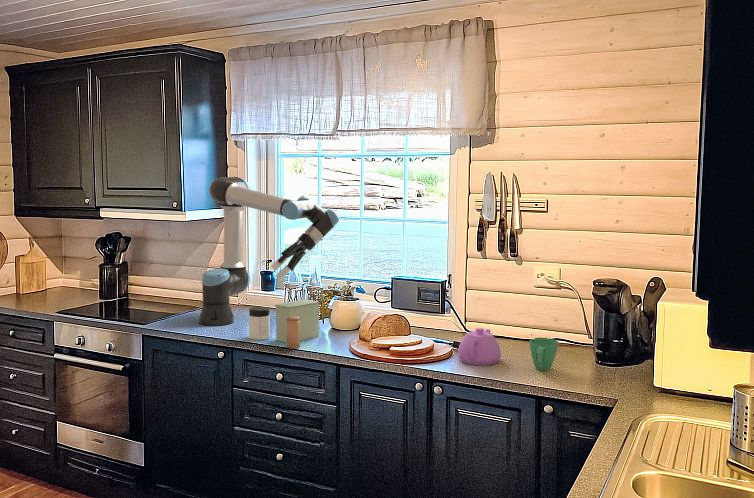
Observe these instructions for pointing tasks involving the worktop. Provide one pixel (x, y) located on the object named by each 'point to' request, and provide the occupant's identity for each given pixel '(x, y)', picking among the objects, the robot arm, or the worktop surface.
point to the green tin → (308, 318)
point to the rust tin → (293, 332)
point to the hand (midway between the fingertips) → (275, 273)
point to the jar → (259, 323)
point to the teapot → (479, 348)
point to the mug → (543, 352)
